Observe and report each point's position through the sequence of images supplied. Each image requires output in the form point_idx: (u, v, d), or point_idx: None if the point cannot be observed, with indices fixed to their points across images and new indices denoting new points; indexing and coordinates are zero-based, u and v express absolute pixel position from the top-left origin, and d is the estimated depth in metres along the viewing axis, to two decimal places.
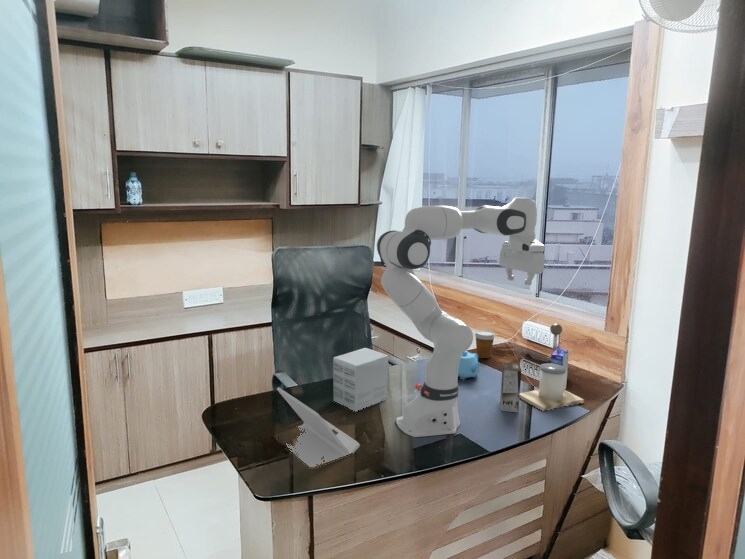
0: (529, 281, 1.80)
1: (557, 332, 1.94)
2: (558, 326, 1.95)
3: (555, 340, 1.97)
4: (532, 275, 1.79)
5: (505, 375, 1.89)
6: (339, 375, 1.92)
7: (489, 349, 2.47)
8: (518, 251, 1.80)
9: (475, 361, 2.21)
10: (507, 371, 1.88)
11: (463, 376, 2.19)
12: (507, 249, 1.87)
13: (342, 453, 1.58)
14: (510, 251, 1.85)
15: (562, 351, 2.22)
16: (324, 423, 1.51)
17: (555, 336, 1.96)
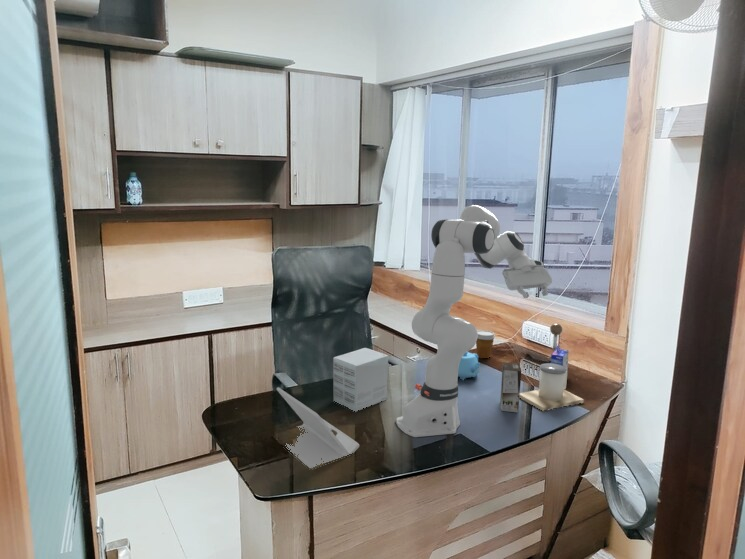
0: None
1: (557, 332, 1.94)
2: (558, 326, 1.95)
3: (555, 340, 1.97)
4: None
5: (505, 375, 1.89)
6: (339, 375, 1.92)
7: (489, 349, 2.47)
8: (530, 268, 2.09)
9: (475, 361, 2.21)
10: (507, 371, 1.88)
11: (463, 376, 2.19)
12: (516, 271, 2.07)
13: (341, 453, 1.58)
14: (520, 272, 2.07)
15: (562, 351, 2.22)
16: (323, 423, 1.51)
17: (555, 336, 1.96)
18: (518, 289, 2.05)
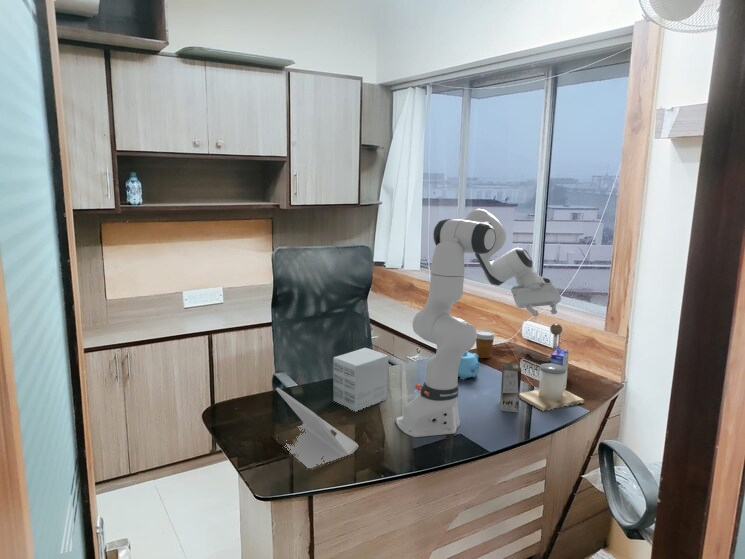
0: None
1: (557, 332, 1.94)
2: (558, 326, 1.95)
3: (555, 340, 1.97)
4: None
5: (505, 375, 1.89)
6: (339, 375, 1.92)
7: (489, 349, 2.47)
8: (539, 285, 2.05)
9: (475, 361, 2.21)
10: (507, 371, 1.88)
11: (463, 376, 2.19)
12: (524, 288, 2.03)
13: (340, 454, 1.58)
14: (529, 289, 2.04)
15: (562, 351, 2.22)
16: (322, 424, 1.50)
17: (555, 336, 1.96)
18: (527, 307, 2.01)
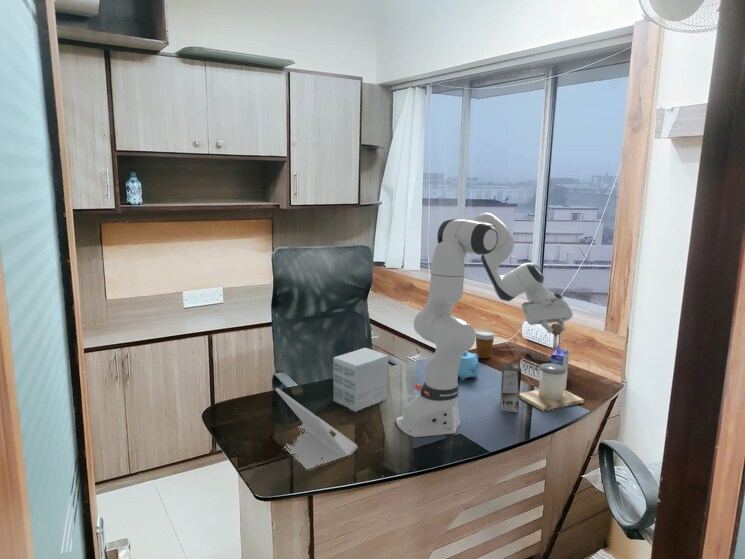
0: None
1: (557, 332, 1.94)
2: (558, 326, 1.95)
3: (555, 340, 1.97)
4: None
5: (505, 375, 1.89)
6: (339, 375, 1.92)
7: (489, 349, 2.47)
8: (551, 301, 2.00)
9: (475, 361, 2.21)
10: (507, 371, 1.88)
11: (463, 376, 2.19)
12: (535, 305, 1.98)
13: (339, 455, 1.57)
14: (540, 305, 1.98)
15: (562, 351, 2.22)
16: (321, 424, 1.50)
17: (555, 336, 1.96)
18: (542, 323, 1.96)
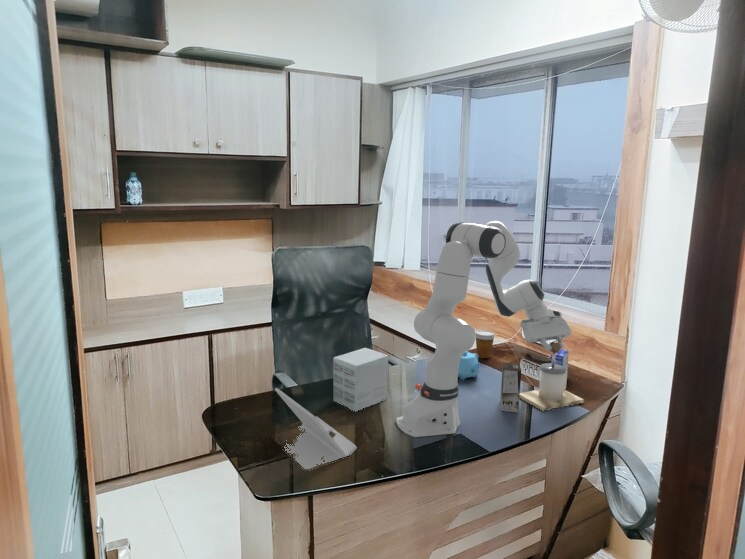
0: None
1: (555, 350, 1.96)
2: (556, 344, 1.96)
3: (553, 358, 1.98)
4: None
5: (505, 375, 1.89)
6: (339, 375, 1.92)
7: (489, 349, 2.47)
8: (549, 319, 2.02)
9: (475, 361, 2.21)
10: (507, 371, 1.88)
11: (463, 376, 2.19)
12: (534, 322, 1.99)
13: (338, 455, 1.57)
14: (538, 323, 2.00)
15: (562, 351, 2.22)
16: (319, 425, 1.50)
17: (553, 354, 1.98)
18: (541, 341, 1.97)
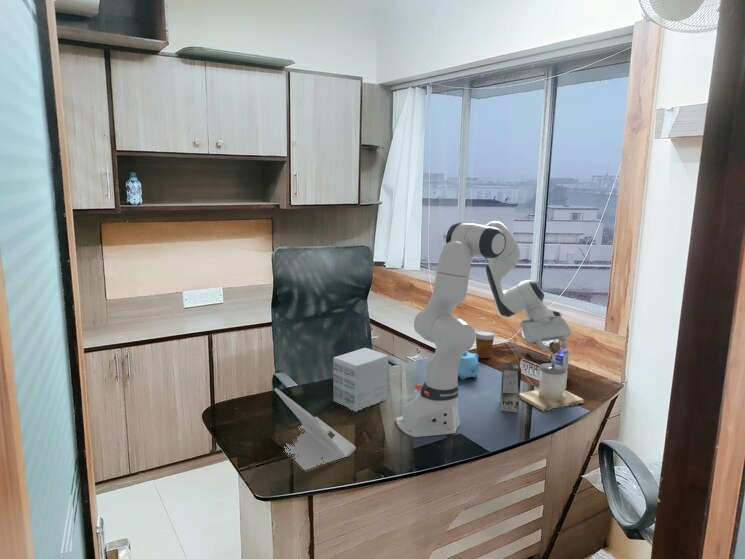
0: None
1: (555, 350, 1.96)
2: (556, 344, 1.96)
3: (553, 358, 1.98)
4: None
5: (505, 375, 1.89)
6: (339, 375, 1.92)
7: (489, 349, 2.47)
8: (549, 319, 2.02)
9: (475, 361, 2.21)
10: (507, 371, 1.88)
11: (463, 376, 2.19)
12: (534, 323, 1.99)
13: (337, 456, 1.57)
14: (538, 323, 2.00)
15: (562, 351, 2.22)
16: (318, 425, 1.49)
17: (553, 354, 1.98)
18: (537, 342, 1.97)
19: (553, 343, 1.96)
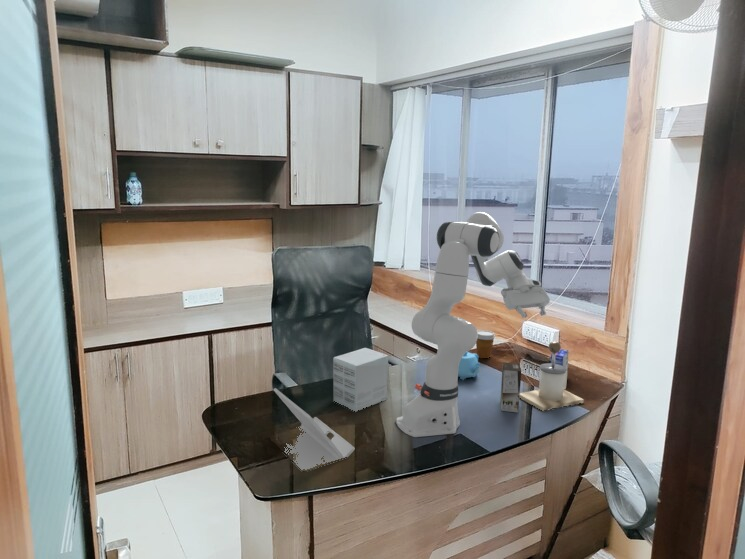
0: None
1: (555, 350, 1.96)
2: (556, 344, 1.96)
3: (553, 358, 1.98)
4: None
5: (505, 375, 1.89)
6: (339, 375, 1.92)
7: (489, 349, 2.47)
8: (529, 288, 2.11)
9: (475, 361, 2.21)
10: (507, 371, 1.88)
11: (463, 376, 2.19)
12: (514, 291, 2.09)
13: (336, 457, 1.56)
14: (518, 291, 2.10)
15: (562, 351, 2.22)
16: (316, 426, 1.49)
17: (553, 354, 1.98)
18: (516, 309, 2.07)
19: (553, 343, 1.96)
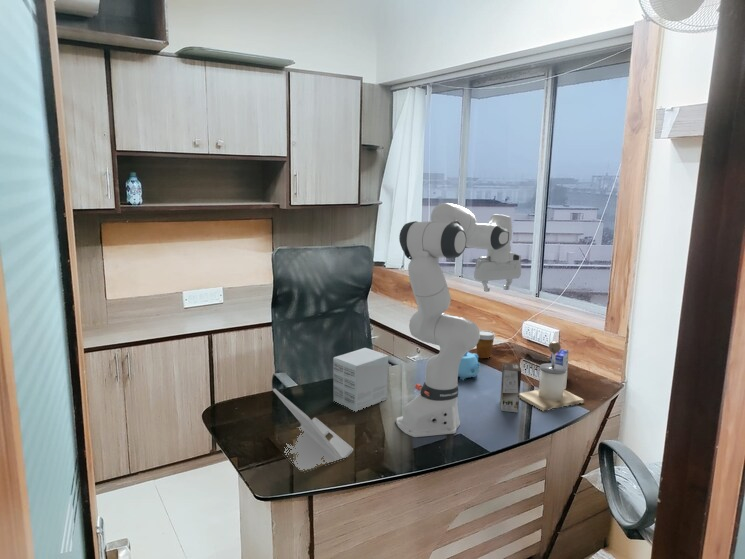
0: None
1: (555, 350, 1.96)
2: (556, 344, 1.96)
3: (553, 358, 1.98)
4: None
5: (505, 375, 1.89)
6: (339, 375, 1.92)
7: (489, 349, 2.47)
8: (506, 262, 2.00)
9: (475, 361, 2.21)
10: (507, 371, 1.88)
11: (463, 376, 2.19)
12: (489, 264, 1.98)
13: (334, 457, 1.56)
14: (493, 264, 1.99)
15: (562, 351, 2.22)
16: (315, 426, 1.49)
17: (553, 354, 1.98)
18: (483, 281, 2.01)
19: (553, 343, 1.96)
